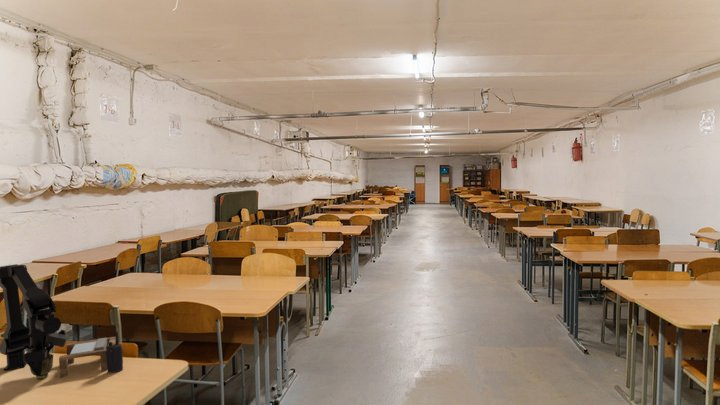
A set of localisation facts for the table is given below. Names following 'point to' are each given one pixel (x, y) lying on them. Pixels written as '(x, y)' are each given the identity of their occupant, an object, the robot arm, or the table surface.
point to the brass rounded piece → (45, 367)
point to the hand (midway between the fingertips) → (41, 371)
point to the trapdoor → (90, 346)
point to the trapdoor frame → (70, 357)
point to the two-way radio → (114, 356)
